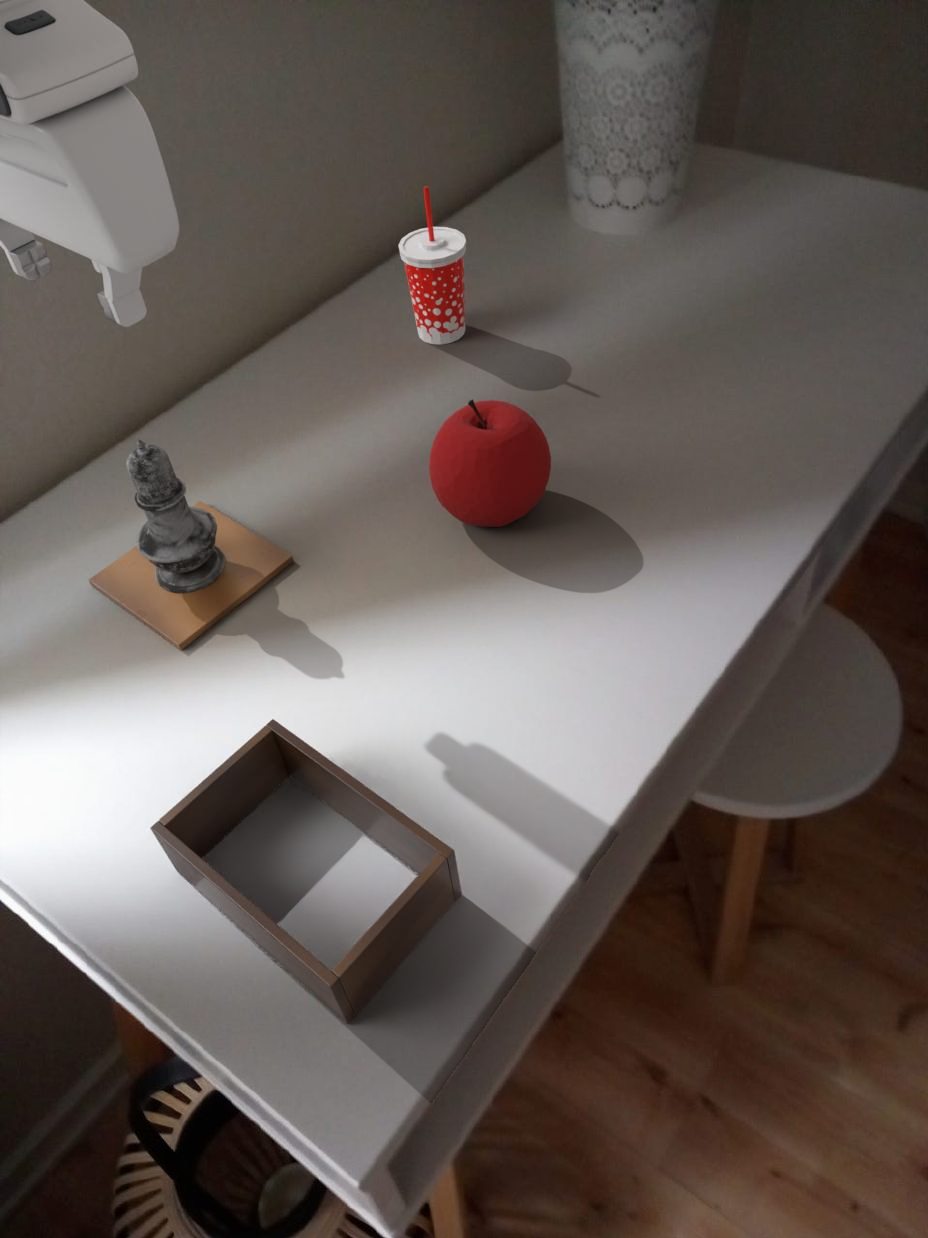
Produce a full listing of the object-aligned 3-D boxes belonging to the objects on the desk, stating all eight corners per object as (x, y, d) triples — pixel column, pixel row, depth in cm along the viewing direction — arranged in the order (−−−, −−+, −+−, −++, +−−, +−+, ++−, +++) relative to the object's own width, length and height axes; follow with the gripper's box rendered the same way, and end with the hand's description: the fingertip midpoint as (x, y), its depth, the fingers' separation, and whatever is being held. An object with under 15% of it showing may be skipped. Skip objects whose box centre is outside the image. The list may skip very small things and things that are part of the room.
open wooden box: (347, 1025, 50) (330, 987, 46) (176, 871, 57) (149, 827, 53) (462, 894, 55) (454, 850, 51) (290, 765, 61) (272, 718, 58)
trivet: (181, 650, 69) (178, 645, 68) (90, 585, 74) (87, 579, 73) (294, 561, 74) (292, 555, 73) (202, 506, 79) (200, 500, 79)
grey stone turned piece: (241, 546, 74) (198, 417, 66) (208, 601, 71) (157, 473, 62) (173, 536, 76) (121, 409, 67) (137, 589, 72) (77, 462, 63)
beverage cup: (472, 347, 91) (460, 200, 81) (408, 350, 92) (388, 205, 82) (473, 312, 96) (462, 168, 85) (412, 316, 96) (393, 173, 86)
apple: (494, 564, 72) (486, 457, 64) (410, 513, 76) (393, 407, 69) (574, 500, 76) (575, 392, 69) (490, 455, 80) (482, 349, 73)
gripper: (-187, 20, 50) (-59, 271, 60) (33, 91, 40) (141, 376, 50) (-76, -15, 53) (28, 229, 63) (153, 43, 43) (232, 321, 53)
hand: (80, 295), depth 57 cm, fingers open, 8 cm apart
